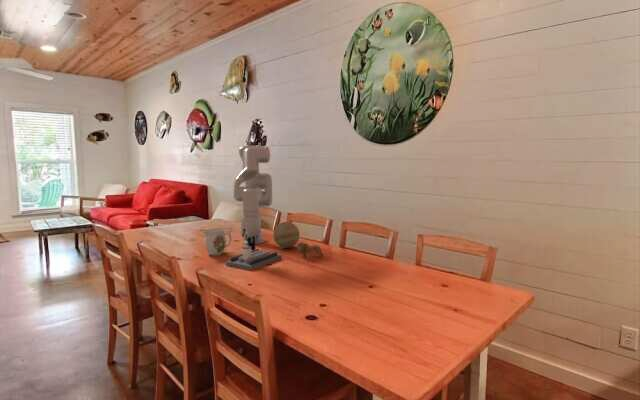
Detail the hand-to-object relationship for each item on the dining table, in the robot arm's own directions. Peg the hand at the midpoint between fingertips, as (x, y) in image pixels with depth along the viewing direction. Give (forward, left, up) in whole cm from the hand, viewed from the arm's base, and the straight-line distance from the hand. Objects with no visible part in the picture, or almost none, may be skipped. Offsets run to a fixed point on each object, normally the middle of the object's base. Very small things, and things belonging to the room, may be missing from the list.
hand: (251, 249), depth 191 cm
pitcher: (-4, -28, -7) cm, 29 cm away
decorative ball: (-34, -3, -7) cm, 35 cm away
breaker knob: (+4, 0, -4) cm, 6 cm away
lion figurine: (-22, +20, -7) cm, 31 cm away
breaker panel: (-2, 0, -7) cm, 7 cm away
